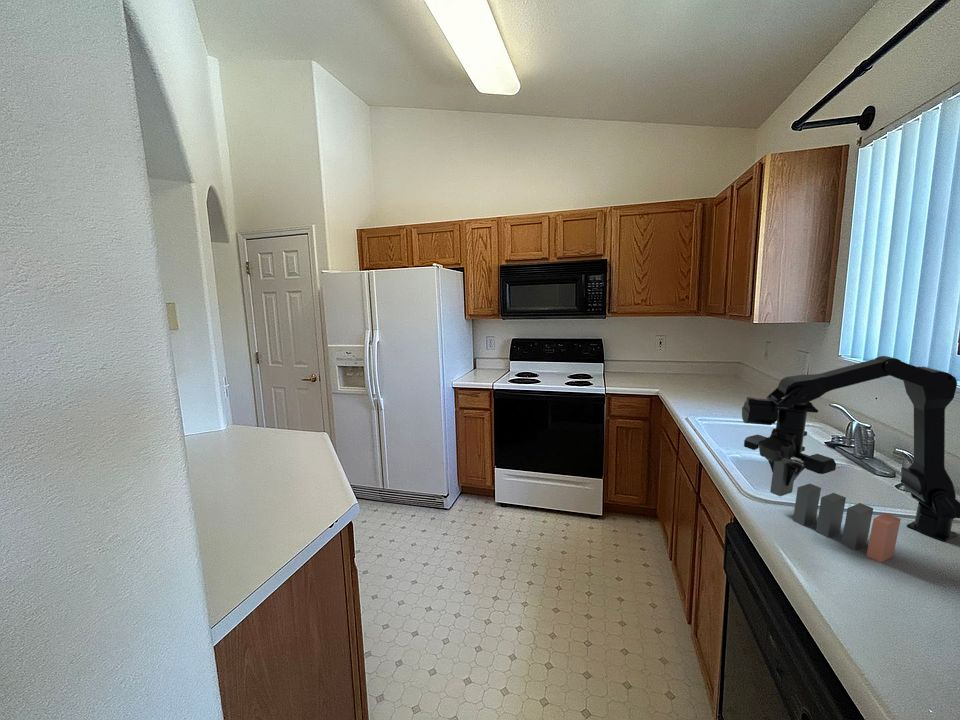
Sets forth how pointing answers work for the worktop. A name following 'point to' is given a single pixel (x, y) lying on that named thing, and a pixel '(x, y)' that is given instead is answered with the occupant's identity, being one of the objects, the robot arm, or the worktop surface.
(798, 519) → the domino
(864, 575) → the worktop surface
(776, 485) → the domino
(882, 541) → the red domino
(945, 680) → the worktop surface
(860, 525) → the domino
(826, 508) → the domino
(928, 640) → the worktop surface
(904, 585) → the worktop surface
